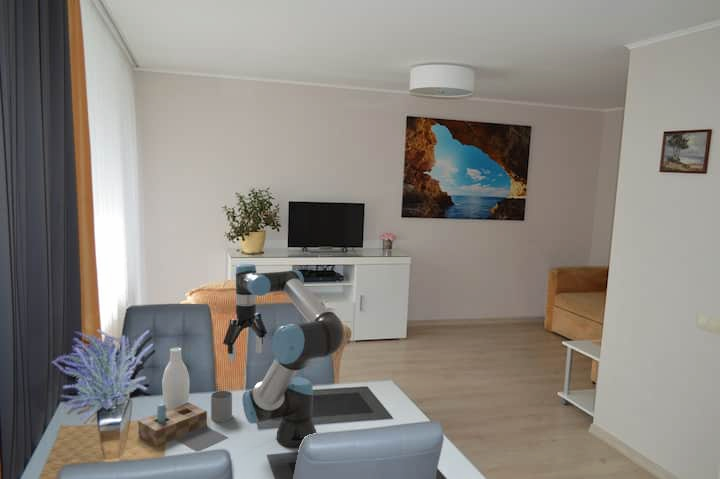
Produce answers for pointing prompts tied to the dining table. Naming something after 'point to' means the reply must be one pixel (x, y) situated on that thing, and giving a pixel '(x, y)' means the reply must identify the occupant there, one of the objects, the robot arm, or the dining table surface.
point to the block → (173, 423)
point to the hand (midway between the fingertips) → (245, 357)
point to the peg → (161, 413)
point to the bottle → (175, 381)
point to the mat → (201, 439)
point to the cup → (221, 406)
